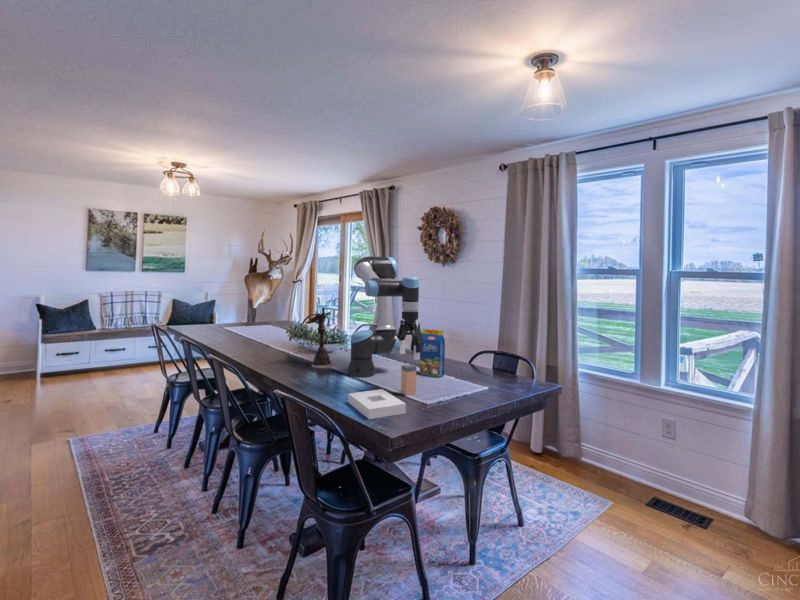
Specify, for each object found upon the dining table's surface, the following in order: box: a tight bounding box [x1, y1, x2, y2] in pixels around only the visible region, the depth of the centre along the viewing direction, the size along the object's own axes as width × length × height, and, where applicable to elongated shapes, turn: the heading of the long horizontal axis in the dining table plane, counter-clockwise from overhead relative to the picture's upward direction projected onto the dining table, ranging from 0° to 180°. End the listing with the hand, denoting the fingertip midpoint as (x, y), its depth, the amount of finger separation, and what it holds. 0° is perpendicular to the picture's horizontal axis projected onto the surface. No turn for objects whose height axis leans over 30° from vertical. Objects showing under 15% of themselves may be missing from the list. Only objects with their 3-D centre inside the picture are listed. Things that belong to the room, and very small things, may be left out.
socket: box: [347, 388, 407, 420], centre depth 174 cm, size 22×16×4 cm
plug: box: [400, 363, 417, 396], centre depth 195 cm, size 5×5×13 cm
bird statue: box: [304, 307, 332, 369], centre depth 245 cm, size 17×13×35 cm
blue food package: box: [419, 328, 446, 379], centre depth 228 cm, size 6×12×25 cm, turn 61°
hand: (409, 356), depth 194 cm, fingers open, 13 cm apart
